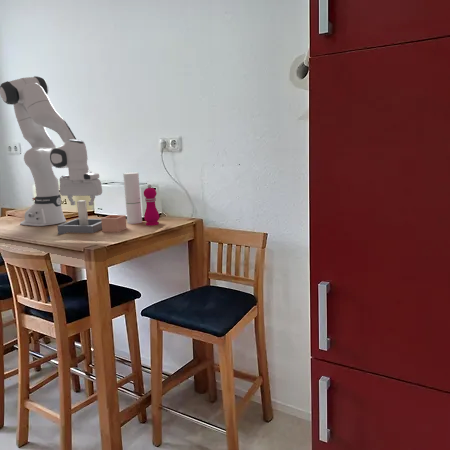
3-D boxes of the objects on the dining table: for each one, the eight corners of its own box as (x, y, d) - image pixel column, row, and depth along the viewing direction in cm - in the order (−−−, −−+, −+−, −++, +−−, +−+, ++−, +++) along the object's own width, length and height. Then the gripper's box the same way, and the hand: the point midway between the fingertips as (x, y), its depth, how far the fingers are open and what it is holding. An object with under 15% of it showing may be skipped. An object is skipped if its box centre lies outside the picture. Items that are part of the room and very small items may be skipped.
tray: (58, 234, 217) (57, 225, 216) (77, 226, 232) (76, 218, 231) (93, 235, 212) (92, 226, 211) (110, 227, 227) (109, 219, 226)
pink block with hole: (102, 233, 214) (101, 218, 213) (111, 229, 222) (109, 215, 220) (118, 234, 212) (117, 218, 211) (126, 230, 220) (125, 215, 218)
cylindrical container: (143, 222, 236) (140, 172, 230) (140, 225, 229) (136, 173, 224) (129, 222, 236) (125, 172, 231) (125, 225, 229) (121, 174, 224)
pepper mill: (153, 228, 221) (150, 185, 217) (141, 227, 225) (138, 185, 221) (163, 225, 227) (160, 183, 223) (151, 224, 231) (148, 183, 227)
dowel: (78, 229, 221) (75, 201, 218) (83, 227, 224) (79, 200, 221) (86, 229, 219) (82, 201, 217) (90, 227, 223) (87, 200, 220)
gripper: (55, 176, 216) (58, 206, 219) (95, 175, 211) (98, 206, 214) (63, 174, 222) (66, 203, 225) (102, 174, 217) (105, 204, 220)
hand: (82, 205), depth 220 cm, fingers open, 8 cm apart
